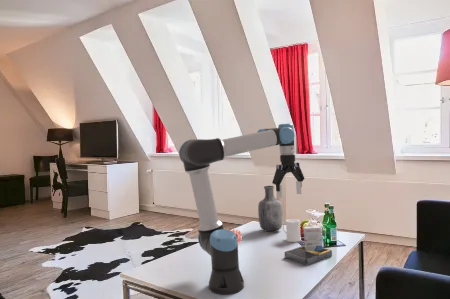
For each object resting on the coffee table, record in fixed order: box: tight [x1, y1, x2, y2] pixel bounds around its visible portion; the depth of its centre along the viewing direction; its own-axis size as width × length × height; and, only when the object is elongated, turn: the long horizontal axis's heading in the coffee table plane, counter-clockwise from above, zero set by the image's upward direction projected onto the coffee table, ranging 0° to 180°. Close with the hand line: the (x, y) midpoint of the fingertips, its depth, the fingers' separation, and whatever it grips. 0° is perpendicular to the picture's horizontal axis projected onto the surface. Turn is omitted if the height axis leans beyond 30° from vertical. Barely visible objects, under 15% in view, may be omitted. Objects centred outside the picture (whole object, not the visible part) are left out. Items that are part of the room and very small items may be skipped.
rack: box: [284, 245, 333, 266], centre depth 178 cm, size 19×15×3 cm
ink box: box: [303, 225, 323, 251], centre depth 180 cm, size 9×5×12 cm, turn 84°
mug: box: [282, 218, 302, 243], centre depth 209 cm, size 12×8×12 cm
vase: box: [257, 185, 284, 233], centre depth 230 cm, size 16×16×30 cm
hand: (289, 195), depth 175 cm, fingers open, 13 cm apart
